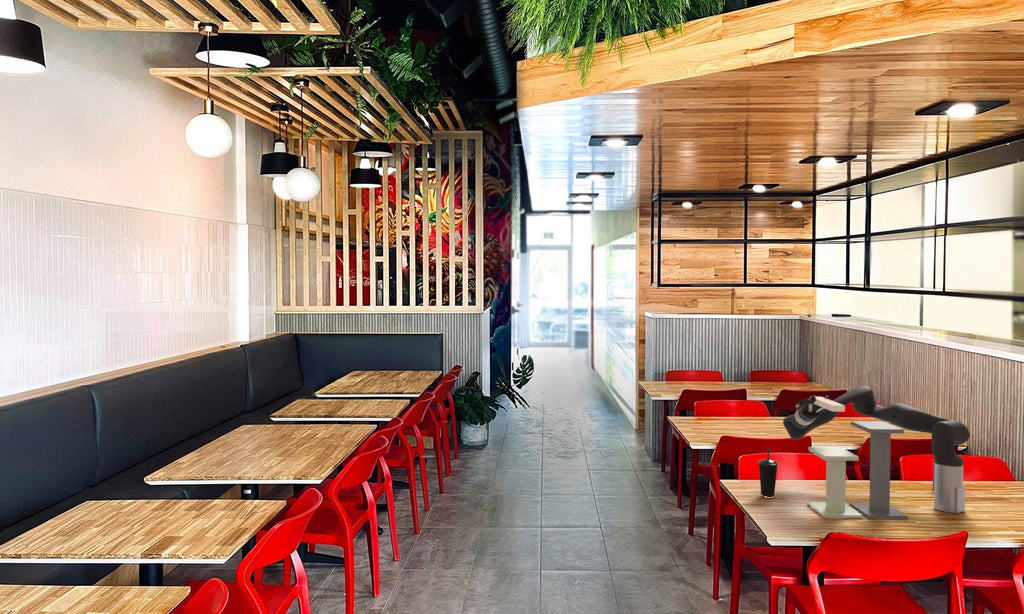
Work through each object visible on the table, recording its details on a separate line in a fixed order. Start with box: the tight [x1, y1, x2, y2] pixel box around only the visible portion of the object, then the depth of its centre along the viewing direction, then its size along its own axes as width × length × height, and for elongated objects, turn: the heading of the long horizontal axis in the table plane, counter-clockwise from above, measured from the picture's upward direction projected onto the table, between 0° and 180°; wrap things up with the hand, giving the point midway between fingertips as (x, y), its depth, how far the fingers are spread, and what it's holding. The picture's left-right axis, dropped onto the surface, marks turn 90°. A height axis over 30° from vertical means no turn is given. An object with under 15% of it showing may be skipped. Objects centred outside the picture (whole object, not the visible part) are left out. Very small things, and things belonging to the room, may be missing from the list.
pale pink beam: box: [809, 396, 846, 413], centre depth 279 cm, size 22×4×2 cm, turn 178°
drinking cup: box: [757, 445, 779, 497], centre depth 292 cm, size 8×8×20 cm
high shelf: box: [849, 420, 909, 520], centre depth 272 cm, size 18×14×32 cm
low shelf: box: [807, 446, 864, 519], centre depth 273 cm, size 18×14×22 cm
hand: (821, 398), depth 285 cm, fingers closed on pale pink beam, 4 cm apart
